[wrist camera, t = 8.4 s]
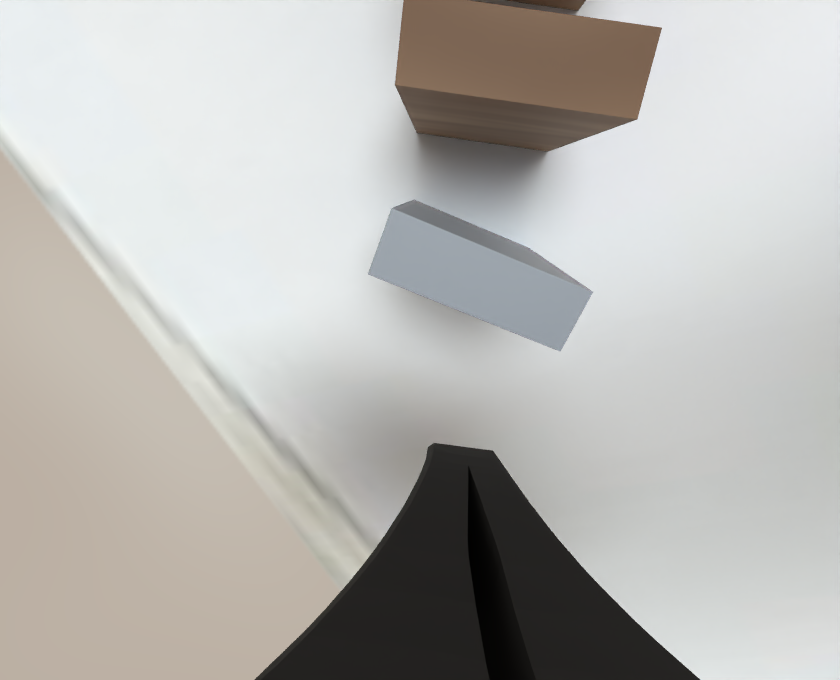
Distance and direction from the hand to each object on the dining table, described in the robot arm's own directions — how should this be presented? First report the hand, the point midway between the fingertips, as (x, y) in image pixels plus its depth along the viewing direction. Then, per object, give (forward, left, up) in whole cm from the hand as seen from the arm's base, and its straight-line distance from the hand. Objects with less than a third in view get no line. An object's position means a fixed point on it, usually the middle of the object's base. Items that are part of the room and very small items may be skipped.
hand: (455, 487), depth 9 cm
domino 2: (+2, -3, -10) cm, 11 cm away
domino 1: (+4, -7, -10) cm, 13 cm away
